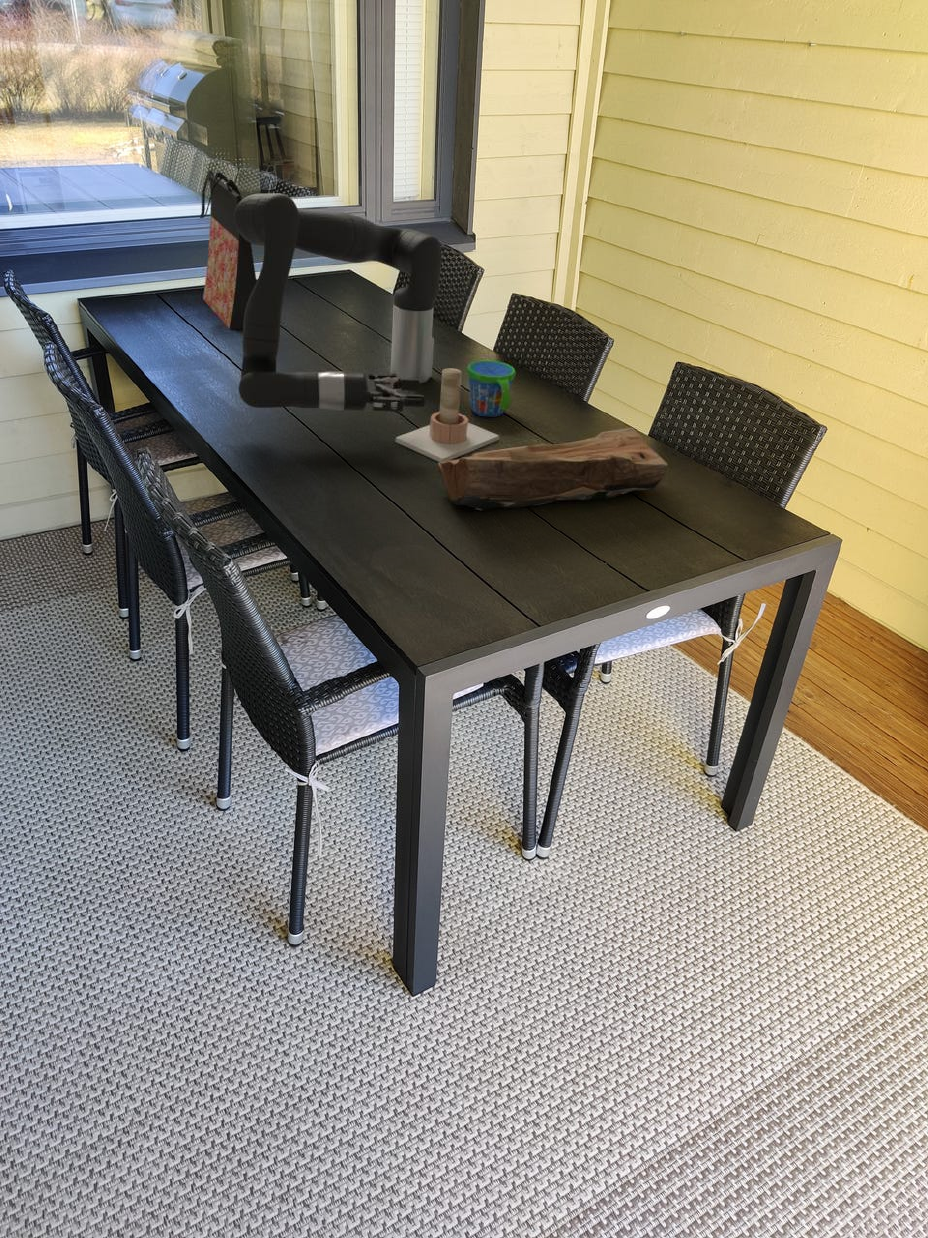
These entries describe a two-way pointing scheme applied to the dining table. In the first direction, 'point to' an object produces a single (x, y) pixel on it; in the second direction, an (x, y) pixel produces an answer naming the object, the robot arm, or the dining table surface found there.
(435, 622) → the dining table surface
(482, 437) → the stand board
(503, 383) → the snack cup
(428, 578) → the dining table surface
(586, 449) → the log
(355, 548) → the dining table surface
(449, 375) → the ash dowel
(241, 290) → the gift bag
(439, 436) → the ring
